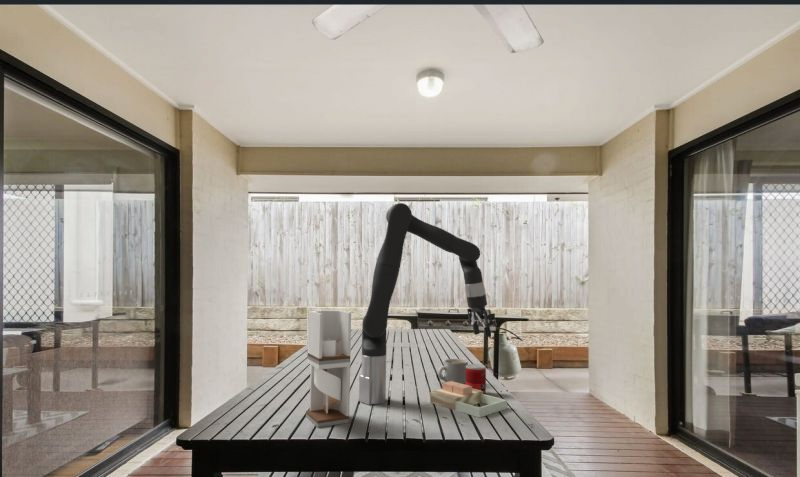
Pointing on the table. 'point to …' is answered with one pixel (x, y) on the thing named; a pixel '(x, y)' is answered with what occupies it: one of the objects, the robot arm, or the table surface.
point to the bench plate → (454, 398)
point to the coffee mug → (454, 371)
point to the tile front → (462, 389)
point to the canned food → (476, 376)
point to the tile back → (449, 386)
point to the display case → (329, 367)
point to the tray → (493, 406)
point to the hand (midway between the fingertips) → (482, 335)
